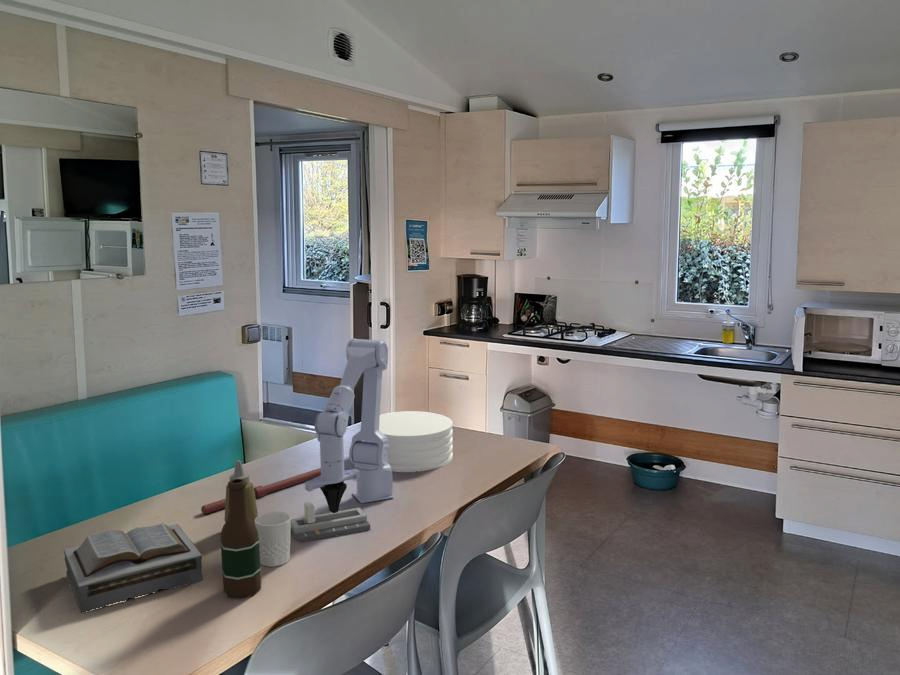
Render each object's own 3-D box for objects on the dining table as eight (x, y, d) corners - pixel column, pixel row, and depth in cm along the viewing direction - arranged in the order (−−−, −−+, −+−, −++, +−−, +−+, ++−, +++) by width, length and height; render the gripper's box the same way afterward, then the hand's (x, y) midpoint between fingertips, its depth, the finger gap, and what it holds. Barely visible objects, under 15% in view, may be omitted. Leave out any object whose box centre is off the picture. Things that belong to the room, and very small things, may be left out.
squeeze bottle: (265, 526, 188) (262, 457, 185) (246, 540, 181) (243, 468, 178) (237, 522, 191) (234, 454, 188) (218, 535, 183) (214, 464, 180)
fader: (314, 522, 188) (313, 501, 187) (317, 527, 185) (317, 506, 184) (302, 524, 187) (301, 503, 186) (305, 529, 183) (304, 508, 182)
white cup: (283, 569, 166) (281, 527, 164) (250, 566, 167) (248, 524, 166) (297, 554, 173) (296, 513, 172) (266, 551, 175) (264, 510, 173)
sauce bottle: (227, 582, 160) (221, 474, 156) (264, 580, 161) (259, 473, 157) (219, 600, 153) (212, 488, 149) (258, 599, 153) (252, 487, 149)
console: (356, 513, 196) (356, 503, 196) (370, 529, 187) (370, 519, 186) (287, 525, 189) (287, 515, 189) (298, 542, 179) (298, 532, 179)
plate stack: (402, 438, 260) (402, 406, 259) (469, 454, 244) (469, 419, 242) (346, 460, 238) (345, 425, 236) (416, 479, 222) (416, 441, 220)
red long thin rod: (206, 517, 195) (205, 506, 194) (200, 514, 197) (199, 503, 196) (340, 472, 228) (340, 462, 227) (334, 470, 230) (333, 460, 229)
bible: (67, 568, 168) (63, 526, 166) (194, 546, 178) (192, 506, 177) (61, 619, 146) (56, 572, 145) (205, 591, 157) (203, 547, 156)
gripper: (348, 449, 193) (349, 499, 195) (297, 461, 184) (299, 514, 186) (363, 456, 188) (364, 507, 190) (312, 469, 178) (314, 523, 181)
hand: (333, 511), depth 188 cm, fingers closed
